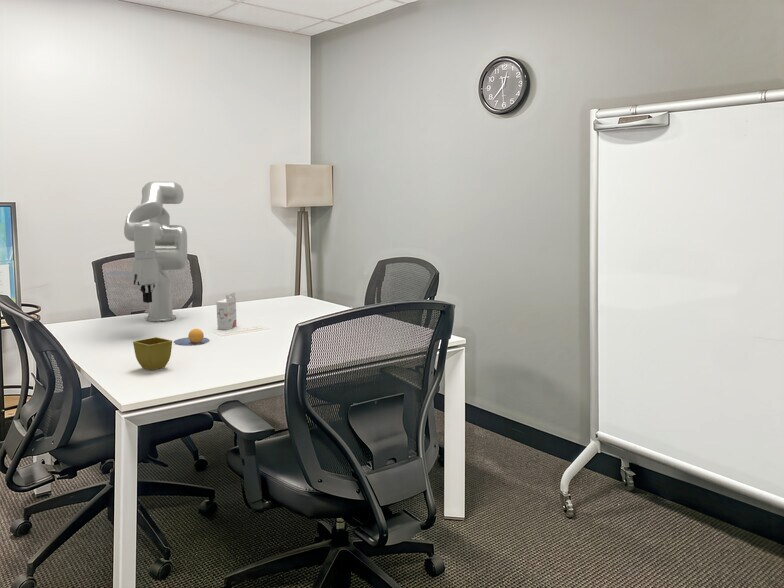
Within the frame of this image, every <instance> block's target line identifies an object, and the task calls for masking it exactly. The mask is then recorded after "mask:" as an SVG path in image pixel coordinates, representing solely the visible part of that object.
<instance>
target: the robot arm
mask: <svg viewBox="0 0 784 588" xmlns="http://www.w3.org/2000/svg"><path fill="white" fill-rule="evenodd" d="M182 187H183V186H181V185H180V184H179V183H178V182H174V181H156V180H155V181H153V180H152V181H149V182H147V183H146V184H145V185H144V186H143V187H142V189H141V199H140V200H141V201H140V204H138V205H137V206H136V207H134V208H132V209H131V210H130V211H129V212H128V213H127V214H126V218H125V222H124V227H123V235H124V237H125V239H126V240H127V241H130V242H133V246H134V259H133V260H132V266H131V284H132V285H134V288H135V289H136V290H139V291H140V293H142V303H147V304H149V305H148V306H149V308H147V309H146V310H145V311H144V313H145V314H146V315H147V316H146V321H147V320H148V322H152V321H157V323H159V322H161V321H163V322H171V321H175V320H176V319H177V315H175V314H173V293H172V279H171V277H170V276H169V274H168V273H167V271H179V270H181V271H182V270H185V269H186V268H187V265H188V232H187V229H186V227H185V226H183V225H179V224H170V219H171V217H170V213H169V212H168V211H167V210H166V208H164V207H163V206H164V205H180V204H181V203H182V202H184V201H183V200H184V189H183V188H182ZM159 247H161V248H159ZM163 247H165V248H163ZM167 247H168V248H167ZM169 247H172V248H169ZM135 289H134V290H135ZM174 319H175V320H174Z"/></svg>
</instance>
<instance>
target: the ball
mask: <svg viewBox="0 0 784 588" xmlns="http://www.w3.org/2000/svg"><path fill="white" fill-rule="evenodd" d="M188 337H189V340H190V341H191V342H192V343H199V342H201V341H202V340H203V338H205V335H204V332H203V330H201V329H199V328H193V329H191V330H190V331H189V332H188ZM188 337H187V338H188Z"/></svg>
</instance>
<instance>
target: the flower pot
mask: <svg viewBox="0 0 784 588" xmlns="http://www.w3.org/2000/svg"><path fill="white" fill-rule="evenodd" d="M132 345H133V349H134V354H135V358H136V360H137V362H138V364H139V365H140V367H141V368H142V369H145V370H147V371H148V370H149V371H156V370H159V369H164V368H165V367H166V366H167V365H168V364H169V361H170V360H171V359H170V358H171V355H172V349H173V348H172V347H173V340H171V339H167V338H162V337H158V336H157V337H149V338H144V339H139V340H134V341H132Z"/></svg>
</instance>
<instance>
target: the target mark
mask: <svg viewBox="0 0 784 588" xmlns="http://www.w3.org/2000/svg"><path fill="white" fill-rule="evenodd" d="M209 342H210V339H209V338H207V337H204V338H203V340H202V341H201V342H199V343H192V342H191V341H190V340H189V337H181V338H178V339H175V340H173V344H174V343H175V344H174V345H177V344H178V345H179V346H197V345H204V344H206V343H209Z"/></svg>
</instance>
